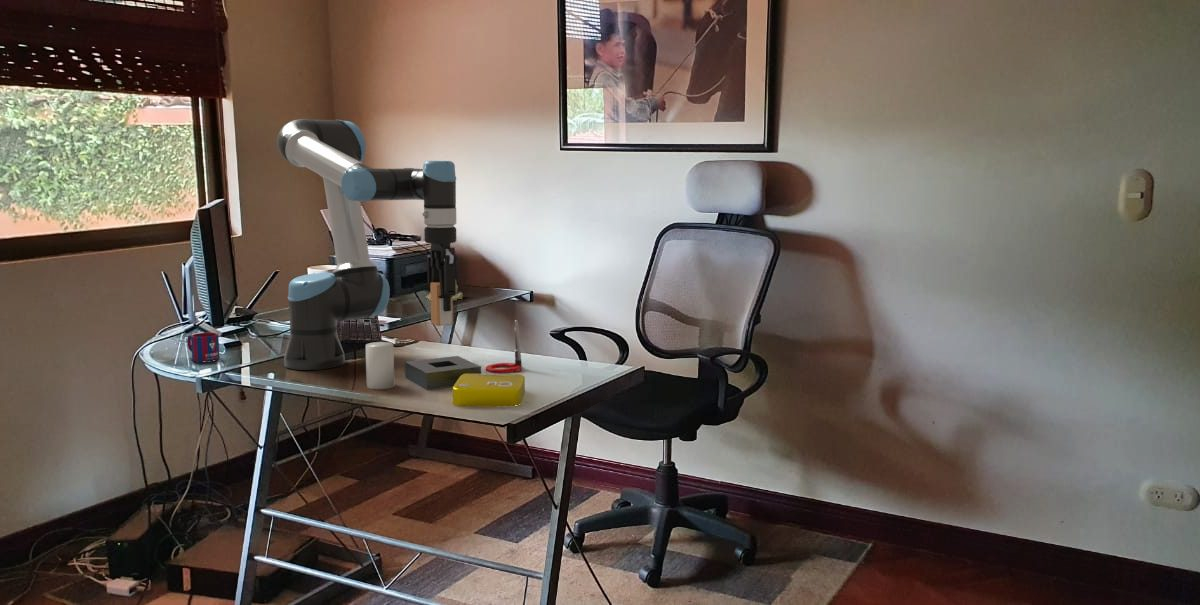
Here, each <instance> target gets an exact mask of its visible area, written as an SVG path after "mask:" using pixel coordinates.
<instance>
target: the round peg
mask: <svg viewBox="0 0 1200 605" xmlns="http://www.w3.org/2000/svg"><path fill="white" fill-rule="evenodd" d="M394 350H395V349H394V343H392V342H387V341H376V342H369V343H366V344H365V371H366V372H365V373H366V374H365V375H366V376H365V377H366V388H367V389H371V390H386V389H387V390H388V389H391V388H393V387H395V361H394V360H395V356H394V355H395V354H394Z"/></svg>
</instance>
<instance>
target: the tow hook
mask: <svg viewBox="0 0 1200 605" xmlns="http://www.w3.org/2000/svg"><path fill="white" fill-rule="evenodd" d="M513 331H514V363H513V362H498V363H493V364H488V365H486V366H485V371H486V372H488V373H491V374H495V373H496V374H507V373H510V372H516V373H521V371H522V365H523V364H522V358H521V356H522V355H521V353H522V352H521V348H520V347H521V344H520V328H519V323H518V320H516V319H515V320H514V328H513ZM504 367H505V368H504Z"/></svg>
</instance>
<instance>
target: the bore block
mask: <svg viewBox="0 0 1200 605" xmlns="http://www.w3.org/2000/svg"><path fill="white" fill-rule="evenodd" d="M404 373H405V374H404V375H405V376H404V377H405V379H407V380H408V381H410V382H412V383H414V384H416V385H418V386H419V387H421V388H423V389H425V390H435V389H444V388H453V386H454V385H455V383H456V382H457V380H458V379H459V377H460V376H461V375H463V374H482V366H480V365H479V364H476V363H475V362H473V361H471V360H468V359H465V358H463V357H461V356H458V355H453V356H452V355H451V356H447V357H446V356H445V357H438V358H437V357H435V358H429V359H428V358H426V359H419V360H409V361H404Z"/></svg>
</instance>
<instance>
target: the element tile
mask: <svg viewBox="0 0 1200 605" xmlns="http://www.w3.org/2000/svg"><path fill="white" fill-rule="evenodd" d="M525 379H526V378H525V375H523V374H521V373H520V374H519V373H491V372H489V373H481V374H463V375H461V376H460V377H459V379H458V380H457V382H456V383H455V385H454V386H452V387H451V388H452V390H451V392H452V405H453V406H455V407H481V408H482V407H493V408H494V407H496V406H515V405H519V404H520V403H521V404H522V401H523V399H524V396H525V393H526V386H525V385H526V384H525V383H526V380H525ZM522 398H523V399H522ZM521 404H520V405H521ZM520 405H519V406H520ZM515 407H516V406H515Z"/></svg>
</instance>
